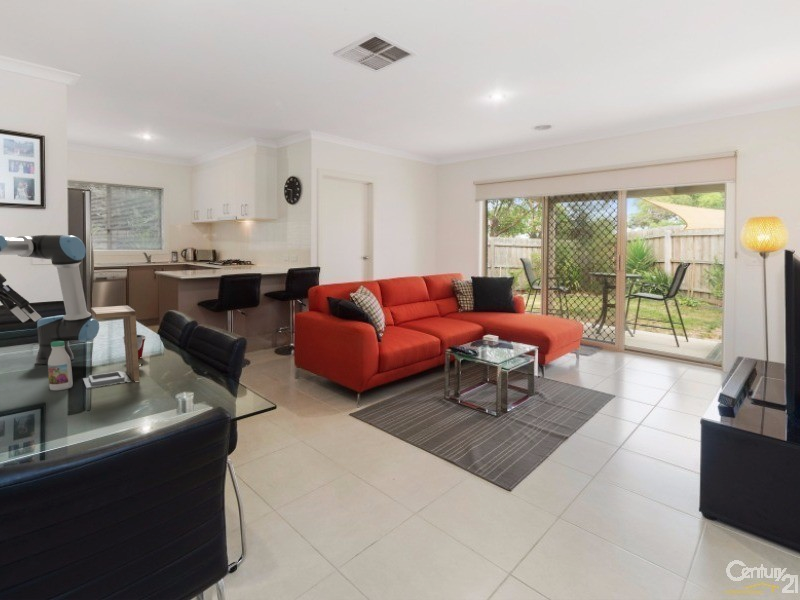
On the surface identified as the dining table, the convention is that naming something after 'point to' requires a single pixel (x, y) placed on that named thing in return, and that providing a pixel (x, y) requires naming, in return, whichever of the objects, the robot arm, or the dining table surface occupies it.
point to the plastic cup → (141, 347)
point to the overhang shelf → (129, 334)
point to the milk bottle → (59, 367)
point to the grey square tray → (105, 379)
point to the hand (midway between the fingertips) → (32, 320)
